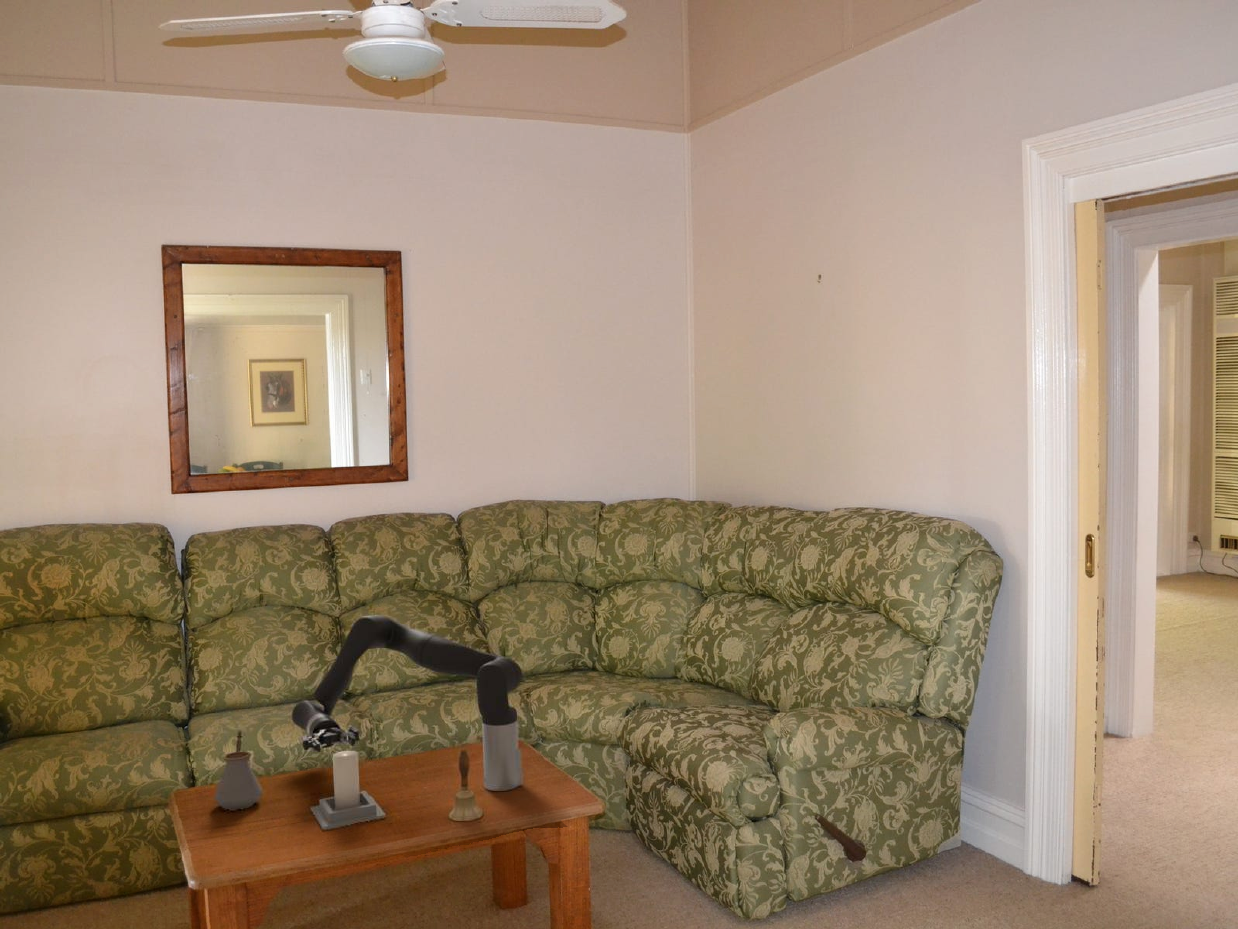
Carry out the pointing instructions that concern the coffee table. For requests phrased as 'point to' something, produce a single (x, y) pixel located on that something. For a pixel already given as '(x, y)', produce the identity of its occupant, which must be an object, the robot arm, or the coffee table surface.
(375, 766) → the coffee table surface
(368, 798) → the candle dish
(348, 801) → the candle
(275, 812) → the coffee table surface
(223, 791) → the coffee pot
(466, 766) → the hand bell
